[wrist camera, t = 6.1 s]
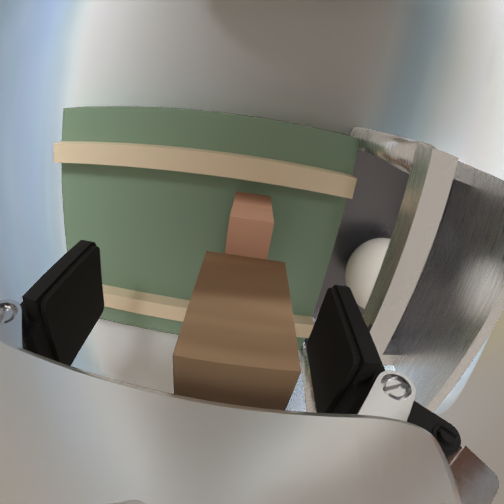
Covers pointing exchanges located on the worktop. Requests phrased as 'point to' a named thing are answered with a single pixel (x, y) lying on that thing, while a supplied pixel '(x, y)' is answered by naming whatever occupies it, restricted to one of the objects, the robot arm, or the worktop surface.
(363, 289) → the ball
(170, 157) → the field
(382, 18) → the worktop surface
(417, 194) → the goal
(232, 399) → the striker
